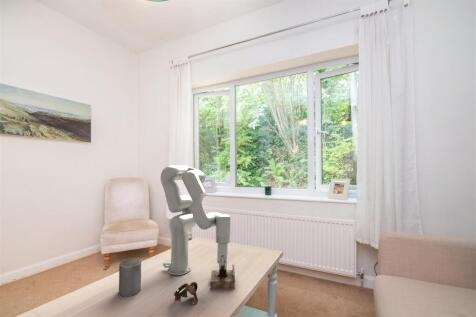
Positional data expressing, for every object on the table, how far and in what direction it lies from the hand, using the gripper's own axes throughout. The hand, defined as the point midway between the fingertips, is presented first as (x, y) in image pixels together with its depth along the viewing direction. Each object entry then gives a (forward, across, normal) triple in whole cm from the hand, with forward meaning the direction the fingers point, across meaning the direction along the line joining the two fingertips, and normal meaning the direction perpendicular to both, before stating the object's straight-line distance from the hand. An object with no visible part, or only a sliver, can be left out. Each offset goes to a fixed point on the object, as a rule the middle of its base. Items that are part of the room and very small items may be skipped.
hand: (222, 272), depth 121 cm
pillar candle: (+5, +7, -44) cm, 45 cm away
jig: (+5, 0, 0) cm, 5 cm away
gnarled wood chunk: (+5, +15, -15) cm, 22 cm away
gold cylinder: (+5, 0, 0) cm, 5 cm away
